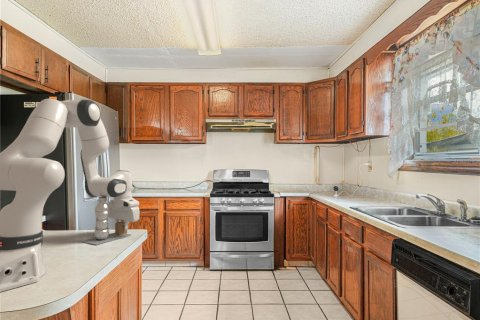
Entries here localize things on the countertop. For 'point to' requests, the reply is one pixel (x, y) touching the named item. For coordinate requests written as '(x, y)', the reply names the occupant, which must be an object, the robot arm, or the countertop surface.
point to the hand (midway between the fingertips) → (122, 228)
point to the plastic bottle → (101, 219)
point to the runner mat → (111, 235)
